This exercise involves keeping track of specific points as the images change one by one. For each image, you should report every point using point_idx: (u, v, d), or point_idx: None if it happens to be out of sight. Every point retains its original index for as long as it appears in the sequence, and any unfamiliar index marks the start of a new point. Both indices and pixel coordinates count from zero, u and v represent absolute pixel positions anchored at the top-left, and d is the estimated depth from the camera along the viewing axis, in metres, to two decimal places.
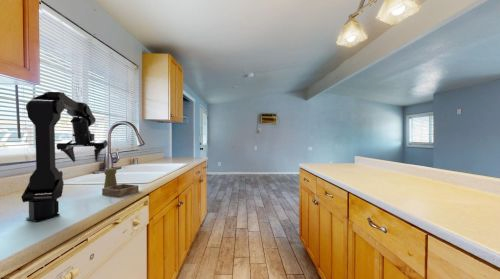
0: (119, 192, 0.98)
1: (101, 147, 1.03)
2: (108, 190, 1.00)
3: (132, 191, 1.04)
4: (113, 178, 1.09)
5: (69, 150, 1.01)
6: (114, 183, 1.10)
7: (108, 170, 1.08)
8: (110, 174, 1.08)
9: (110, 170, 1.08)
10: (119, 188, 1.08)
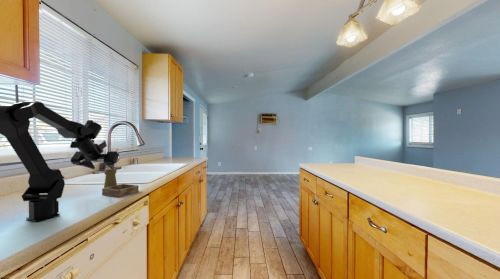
0: (119, 192, 0.98)
1: (111, 163, 0.97)
2: (108, 190, 1.00)
3: (132, 191, 1.04)
4: (113, 178, 1.09)
5: (84, 163, 0.99)
6: (114, 183, 1.10)
7: (108, 170, 1.08)
8: (110, 174, 1.08)
9: (110, 170, 1.08)
10: (119, 188, 1.08)
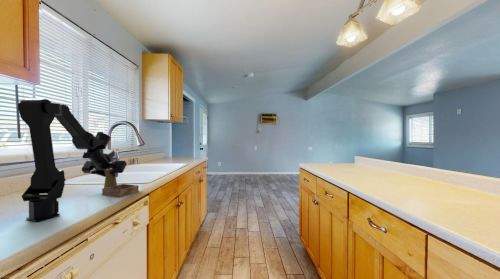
0: (119, 192, 0.98)
1: (119, 172, 1.04)
2: (108, 190, 1.00)
3: (132, 191, 1.04)
4: (113, 178, 1.09)
5: (98, 171, 1.06)
6: (114, 183, 1.10)
7: (108, 170, 1.08)
8: (110, 174, 1.08)
9: (110, 170, 1.08)
10: (119, 188, 1.08)
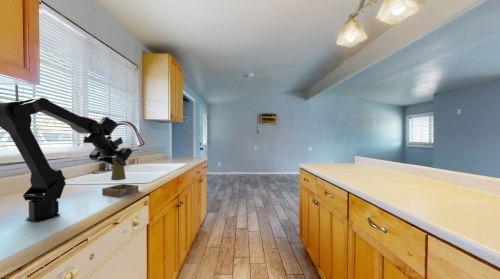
0: (119, 192, 0.98)
1: (123, 159, 0.97)
2: (108, 190, 1.00)
3: (132, 191, 1.04)
4: (120, 167, 1.04)
5: (105, 159, 1.02)
6: (121, 172, 1.04)
7: (115, 158, 1.03)
8: None
9: None
10: (119, 188, 1.08)
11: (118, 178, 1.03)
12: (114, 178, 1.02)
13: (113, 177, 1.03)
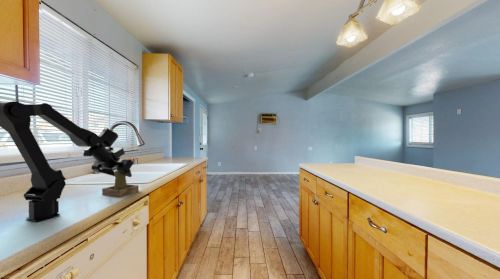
0: (119, 192, 0.98)
1: (123, 172, 0.96)
2: (108, 190, 1.00)
3: (132, 191, 1.04)
4: (122, 181, 1.03)
5: (104, 170, 1.01)
6: (123, 186, 1.03)
7: (117, 172, 1.02)
8: (119, 176, 1.02)
9: (119, 172, 1.02)
10: None
11: None
12: None
13: None
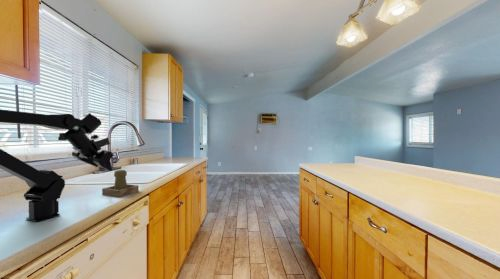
0: (119, 192, 0.98)
1: (99, 164, 0.85)
2: (108, 190, 1.00)
3: (132, 191, 1.04)
4: (122, 181, 1.03)
5: (84, 159, 0.92)
6: (123, 186, 1.03)
7: (117, 172, 1.02)
8: (119, 176, 1.02)
9: (119, 172, 1.02)
10: None
11: None
12: None
13: None
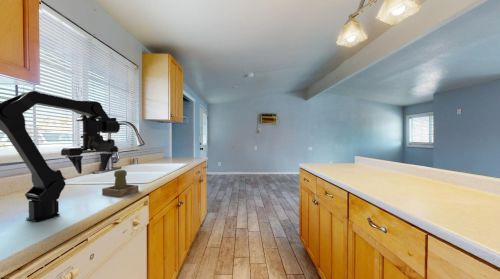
0: (119, 192, 0.98)
1: None
2: (108, 190, 1.00)
3: (132, 191, 1.04)
4: (122, 181, 1.03)
5: (101, 154, 0.93)
6: (123, 186, 1.03)
7: (117, 172, 1.02)
8: (119, 176, 1.02)
9: (119, 172, 1.02)
10: None
11: None
12: None
13: None
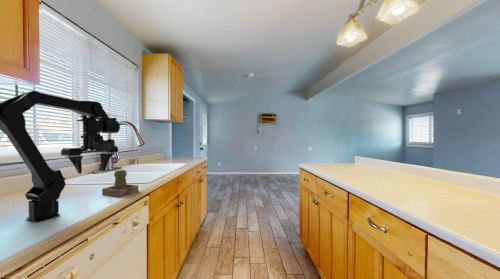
0: (119, 192, 0.98)
1: None
2: (108, 190, 1.00)
3: (132, 191, 1.04)
4: (122, 181, 1.03)
5: (101, 154, 0.93)
6: (123, 186, 1.03)
7: (117, 172, 1.02)
8: (119, 176, 1.02)
9: (119, 172, 1.02)
10: None
11: None
12: None
13: None
